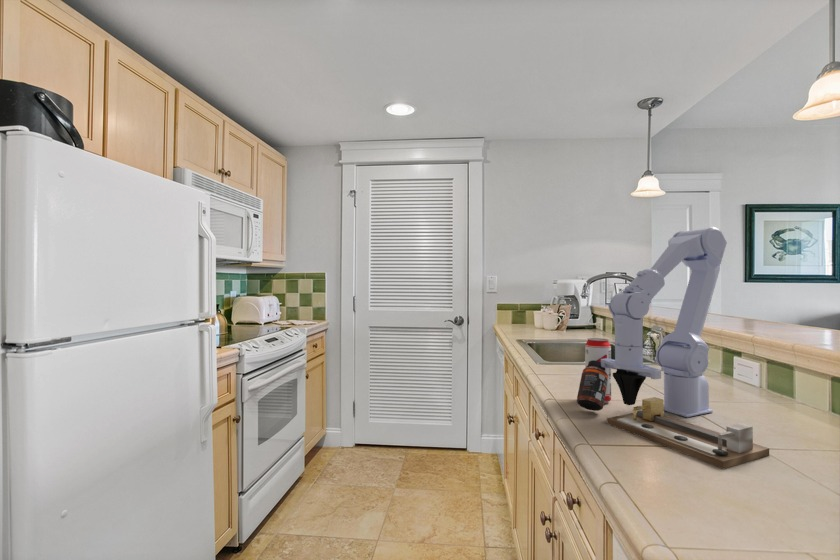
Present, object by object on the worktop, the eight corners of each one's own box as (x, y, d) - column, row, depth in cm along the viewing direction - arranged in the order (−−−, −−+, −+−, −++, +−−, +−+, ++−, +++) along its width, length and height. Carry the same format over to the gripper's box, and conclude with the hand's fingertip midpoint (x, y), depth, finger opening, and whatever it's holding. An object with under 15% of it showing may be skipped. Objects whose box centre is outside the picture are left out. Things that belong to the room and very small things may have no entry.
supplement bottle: (605, 406, 94) (612, 362, 100) (578, 397, 96) (587, 355, 102) (599, 414, 99) (606, 372, 105) (573, 405, 101) (582, 365, 107)
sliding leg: (655, 415, 91) (655, 397, 91) (663, 418, 89) (663, 399, 89) (629, 420, 88) (629, 401, 88) (638, 423, 86) (637, 404, 86)
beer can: (609, 405, 103) (609, 340, 103) (582, 401, 106) (582, 339, 107) (612, 400, 108) (612, 339, 109) (587, 397, 112) (587, 337, 112)
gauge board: (648, 415, 96) (648, 392, 96) (769, 455, 74) (769, 425, 74) (607, 423, 91) (606, 399, 91) (723, 468, 69) (723, 437, 69)
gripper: (591, 341, 100) (591, 398, 100) (644, 350, 87) (645, 415, 87) (612, 339, 103) (613, 394, 103) (667, 348, 89) (668, 411, 89)
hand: (629, 404), depth 95 cm, fingers closed
